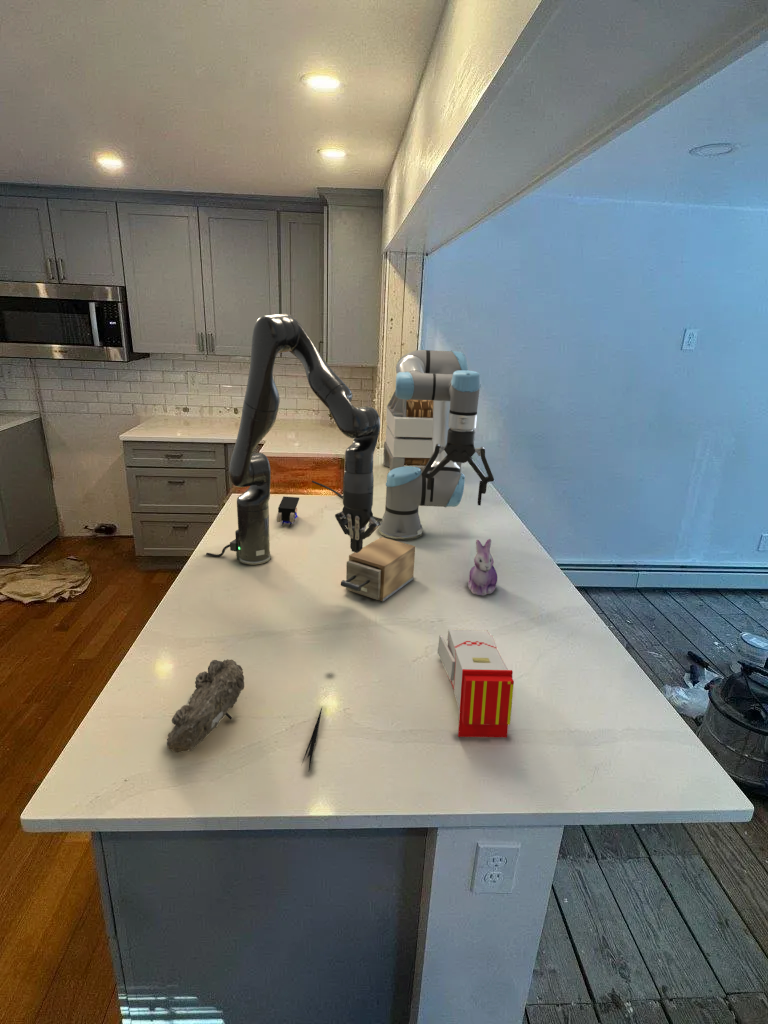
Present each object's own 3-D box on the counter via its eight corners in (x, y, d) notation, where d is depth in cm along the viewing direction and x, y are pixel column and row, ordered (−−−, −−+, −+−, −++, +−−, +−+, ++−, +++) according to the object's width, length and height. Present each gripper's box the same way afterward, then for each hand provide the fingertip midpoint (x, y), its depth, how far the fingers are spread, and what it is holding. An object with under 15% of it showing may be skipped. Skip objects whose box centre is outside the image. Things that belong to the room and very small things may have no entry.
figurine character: (295, 532, 200) (300, 513, 214) (294, 513, 197) (299, 495, 210) (276, 531, 200) (282, 512, 213) (275, 512, 197) (281, 494, 210)
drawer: (365, 609, 147) (366, 580, 144) (332, 597, 152) (333, 569, 149) (406, 579, 164) (408, 552, 162) (376, 569, 170) (377, 543, 167)
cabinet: (383, 601, 154) (384, 566, 150) (348, 589, 159) (348, 555, 156) (413, 578, 167) (415, 546, 164) (380, 568, 173) (381, 536, 169)
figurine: (479, 599, 156) (485, 549, 151) (458, 584, 165) (463, 536, 160) (506, 593, 161) (512, 544, 155) (484, 578, 169) (490, 531, 164)
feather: (331, 679, 122) (336, 673, 122) (307, 777, 96) (313, 769, 95) (324, 675, 122) (329, 669, 121) (298, 772, 95) (304, 764, 95)
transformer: (382, 463, 289) (386, 382, 275) (445, 464, 293) (451, 384, 279) (390, 482, 257) (394, 392, 243) (460, 483, 261) (468, 394, 247)
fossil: (192, 660, 117) (244, 628, 112) (224, 691, 120) (276, 661, 115) (142, 746, 98) (202, 712, 93) (182, 779, 101) (242, 748, 96)
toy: (488, 613, 130) (523, 677, 101) (484, 667, 133) (517, 744, 104) (435, 612, 130) (455, 676, 101) (432, 666, 133) (451, 743, 103)
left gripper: (327, 486, 142) (327, 549, 147) (372, 496, 135) (369, 562, 141) (345, 479, 148) (344, 540, 153) (388, 489, 141) (385, 553, 147)
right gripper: (415, 428, 153) (410, 503, 160) (509, 434, 151) (500, 509, 158) (417, 423, 160) (412, 494, 167) (506, 429, 158) (497, 501, 165)
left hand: (356, 551), depth 147 cm, fingers closed
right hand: (455, 502), depth 163 cm, fingers open, 13 cm apart
